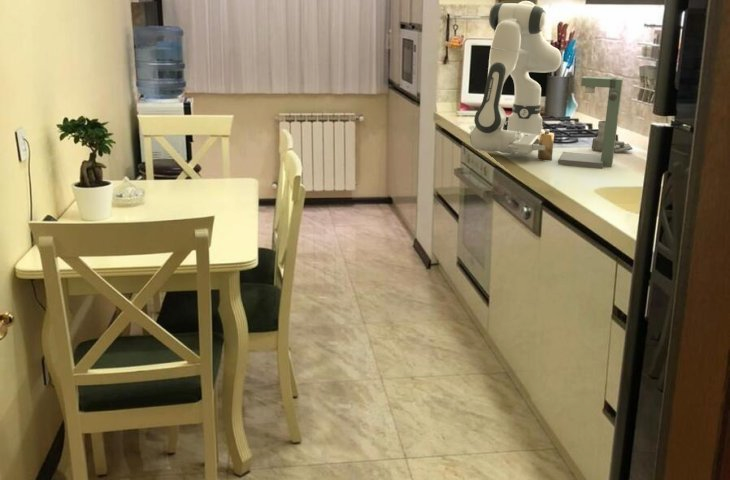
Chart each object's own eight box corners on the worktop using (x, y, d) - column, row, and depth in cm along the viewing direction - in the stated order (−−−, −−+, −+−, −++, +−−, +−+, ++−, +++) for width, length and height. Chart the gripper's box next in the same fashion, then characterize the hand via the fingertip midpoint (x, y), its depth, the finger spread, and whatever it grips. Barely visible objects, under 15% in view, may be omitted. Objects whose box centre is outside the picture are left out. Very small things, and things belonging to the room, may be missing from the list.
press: (562, 156, 294) (571, 73, 283) (613, 161, 288) (623, 76, 277) (555, 167, 277) (564, 80, 266) (609, 172, 270) (620, 83, 260)
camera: (594, 119, 306) (632, 121, 304) (590, 147, 310) (628, 150, 308) (597, 123, 298) (636, 125, 296) (593, 152, 302) (631, 154, 300)
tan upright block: (538, 157, 293) (541, 127, 289) (552, 158, 291) (555, 128, 287) (536, 159, 288) (539, 130, 285) (550, 161, 287) (553, 131, 283)
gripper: (506, 139, 282) (543, 142, 278) (516, 129, 300) (551, 132, 296) (505, 155, 284) (542, 158, 280) (515, 144, 302) (550, 147, 298)
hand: (547, 145), depth 288 cm, fingers open, 8 cm apart
